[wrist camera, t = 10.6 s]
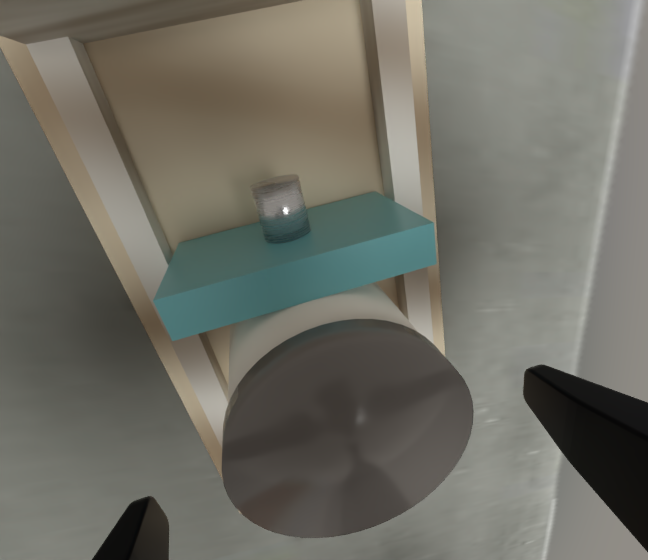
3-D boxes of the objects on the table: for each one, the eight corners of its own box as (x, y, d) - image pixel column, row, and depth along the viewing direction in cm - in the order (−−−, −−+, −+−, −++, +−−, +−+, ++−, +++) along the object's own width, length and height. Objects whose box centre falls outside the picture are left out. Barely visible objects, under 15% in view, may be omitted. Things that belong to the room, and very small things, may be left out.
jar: (385, 349, 17) (475, 488, 10) (253, 391, 16) (265, 566, 10) (365, 221, 14) (471, 307, 8) (204, 265, 13) (177, 398, 7)
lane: (445, 433, 21) (519, 542, 15) (240, 505, 19) (241, 652, 14) (409, -67, 11) (574, -241, 6) (-10, 9, 10) (-314, -123, 4)
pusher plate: (379, 222, 14) (436, 264, 10) (191, 273, 13) (172, 341, 9) (369, 145, 13) (429, 159, 9) (160, 197, 12) (122, 237, 8)
